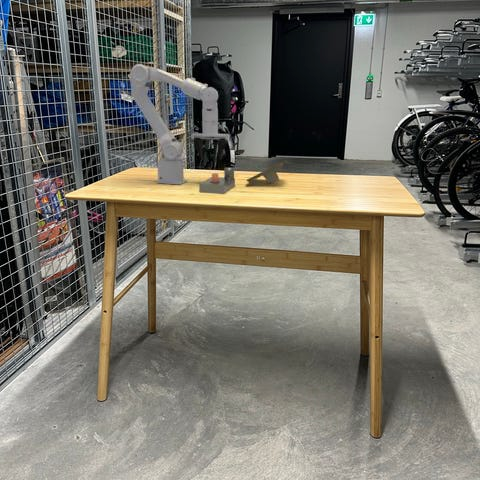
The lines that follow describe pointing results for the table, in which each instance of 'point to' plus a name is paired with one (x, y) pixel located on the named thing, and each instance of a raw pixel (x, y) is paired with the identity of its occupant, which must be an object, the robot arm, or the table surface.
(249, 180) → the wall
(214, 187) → the silver box with hole
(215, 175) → the cylindrical pin
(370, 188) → the table surface
